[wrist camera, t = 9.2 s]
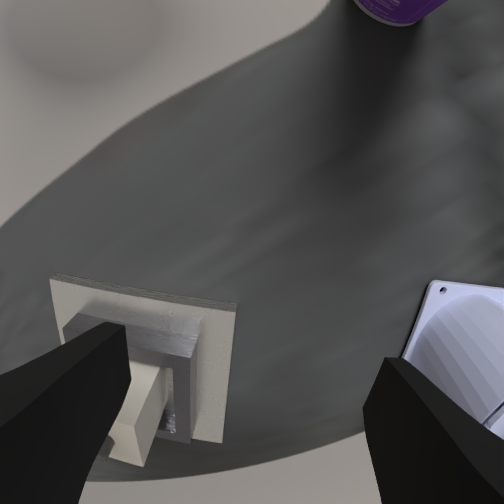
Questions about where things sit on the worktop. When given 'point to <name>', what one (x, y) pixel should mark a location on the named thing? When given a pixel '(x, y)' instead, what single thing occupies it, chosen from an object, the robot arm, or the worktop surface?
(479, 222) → the worktop surface
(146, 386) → the plug
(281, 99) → the worktop surface
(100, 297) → the socket plate
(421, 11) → the container
